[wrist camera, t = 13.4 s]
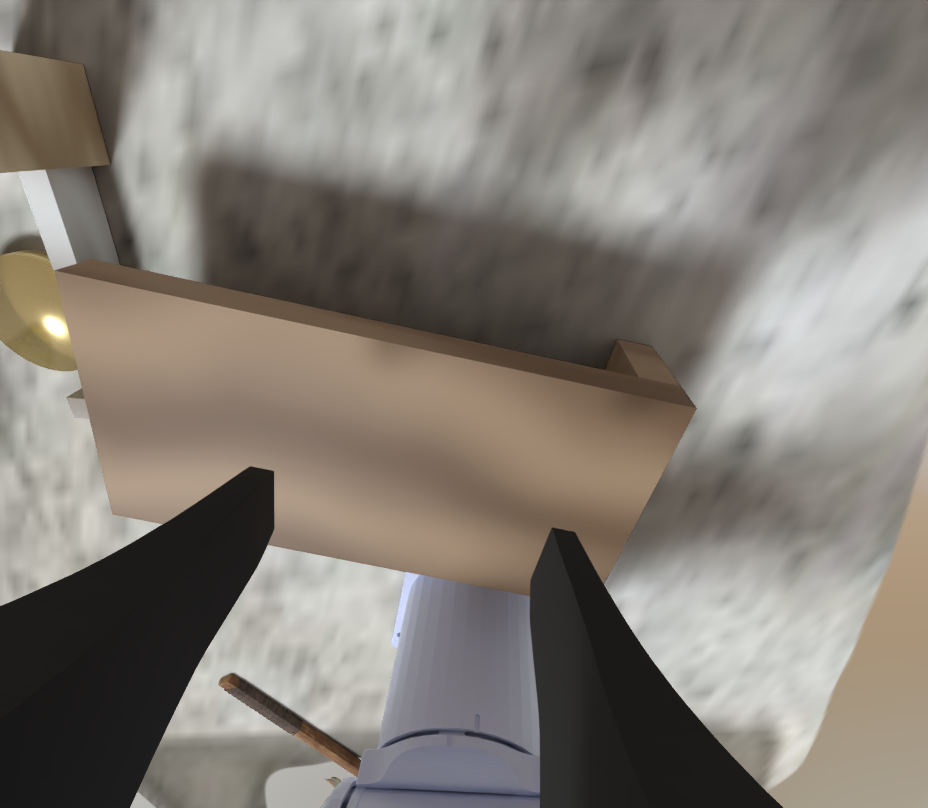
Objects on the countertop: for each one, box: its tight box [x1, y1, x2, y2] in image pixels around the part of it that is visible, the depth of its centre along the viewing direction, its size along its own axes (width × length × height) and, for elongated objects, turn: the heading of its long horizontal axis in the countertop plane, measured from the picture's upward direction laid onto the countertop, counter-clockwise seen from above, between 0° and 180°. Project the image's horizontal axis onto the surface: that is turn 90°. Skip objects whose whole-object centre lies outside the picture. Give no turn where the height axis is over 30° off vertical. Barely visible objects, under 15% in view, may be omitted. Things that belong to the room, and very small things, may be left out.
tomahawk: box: [218, 674, 361, 788], centre depth 38 cm, size 20×7×1 cm, turn 36°
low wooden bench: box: [54, 259, 697, 596], centre depth 19 cm, size 10×20×5 cm, turn 78°
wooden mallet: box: [0, 50, 120, 419], centre depth 16 cm, size 13×3×6 cm, turn 176°
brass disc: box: [0, 250, 78, 371], centre depth 20 cm, size 5×5×1 cm
